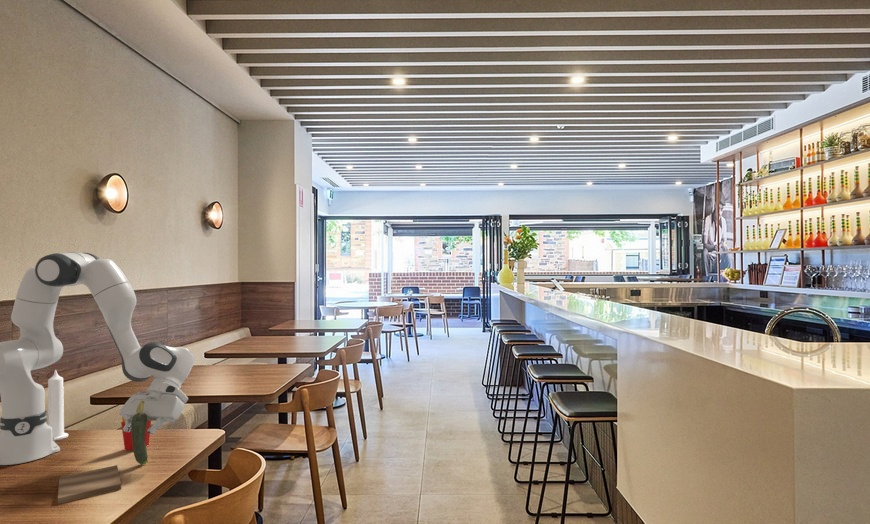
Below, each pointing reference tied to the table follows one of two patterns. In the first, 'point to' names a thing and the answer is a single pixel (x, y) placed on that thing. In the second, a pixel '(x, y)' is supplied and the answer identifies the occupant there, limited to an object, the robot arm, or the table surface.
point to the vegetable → (139, 434)
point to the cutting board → (88, 484)
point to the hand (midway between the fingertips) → (137, 432)
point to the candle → (56, 406)
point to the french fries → (128, 436)
